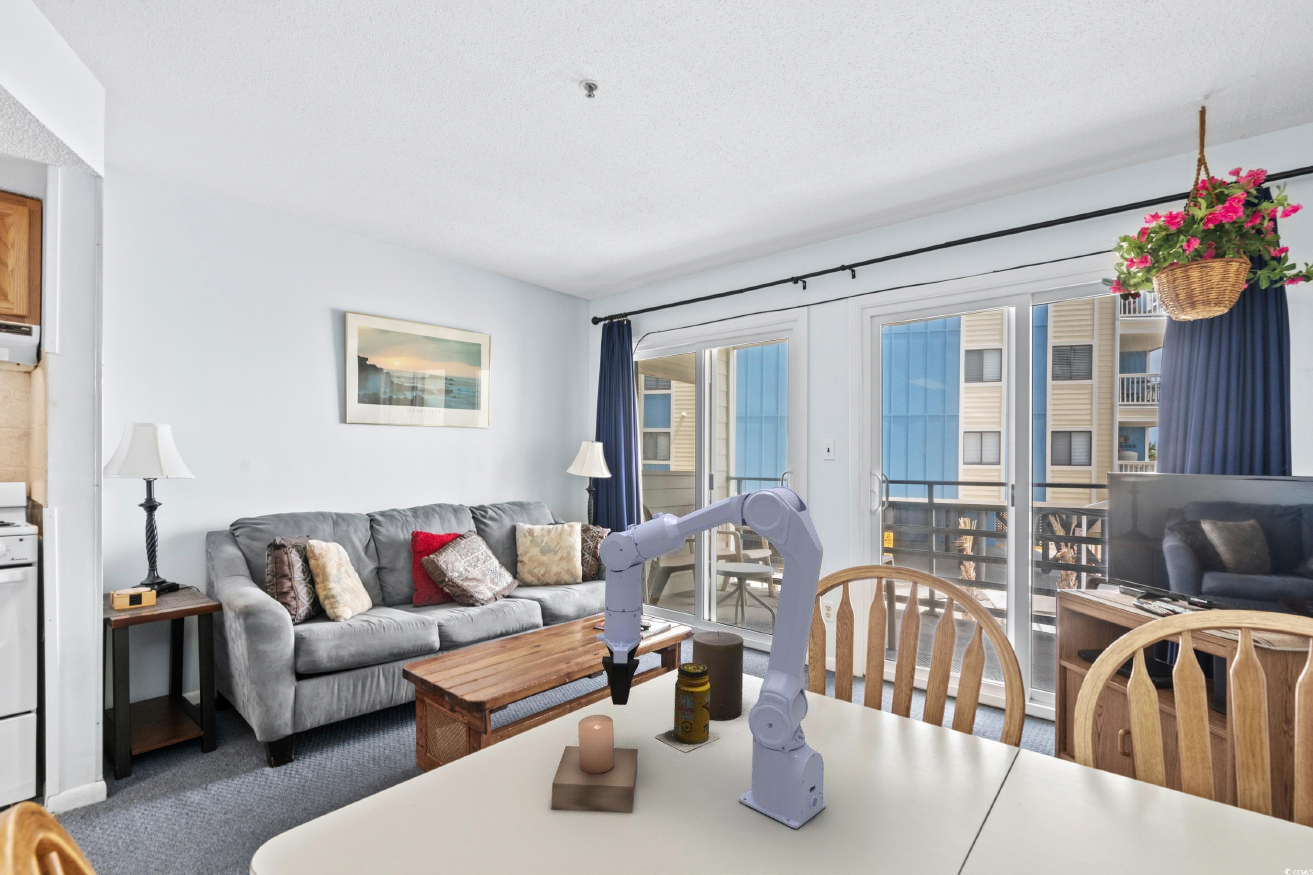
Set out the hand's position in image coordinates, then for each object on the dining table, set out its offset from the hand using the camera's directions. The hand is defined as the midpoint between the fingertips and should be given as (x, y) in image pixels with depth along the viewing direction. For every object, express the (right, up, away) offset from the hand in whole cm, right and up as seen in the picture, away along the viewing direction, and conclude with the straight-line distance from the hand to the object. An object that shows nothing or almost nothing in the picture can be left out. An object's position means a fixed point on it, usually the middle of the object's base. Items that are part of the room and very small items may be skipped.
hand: (620, 694), depth 101 cm
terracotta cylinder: (-3, -7, -9) cm, 11 cm away
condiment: (+11, -11, +9) cm, 18 cm away
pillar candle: (+17, -11, +21) cm, 29 cm away
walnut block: (-3, -11, -9) cm, 14 cm away
